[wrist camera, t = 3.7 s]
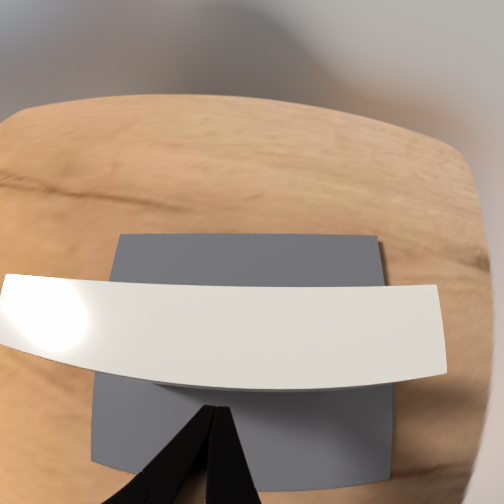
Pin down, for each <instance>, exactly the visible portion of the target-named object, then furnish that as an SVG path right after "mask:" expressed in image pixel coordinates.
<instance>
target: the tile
mask: <svg viewBox="0 0 504 504" xmlns="http://www.w3.org/2000/svg"><path fill="white" fill-rule="evenodd" d="M0 344H1V345H4V346H7V347H10V348H12V349H15V350H18V351H21V352H24V353H27V354H30V355H33V356H36V357H40V358H43V359H46V360H50V361H53V362H57V363H60V364H64V365H68V366H71V367H75V368H79V369H83V370H88V371H92V372H96V373H101V374H105V375H110V376H115V377H120V378H125V379H131V380H136V381H142V382H148V383H155V384H162V385H170V386H179V387H188V388H199V389H211V390H225V391H246V392H314V391H333V390H344V389H354V388H363V387H371V386H379V385H386V384H393V383H399V382H405V381H411V380H417V379H422V378H427V377H432V376H437V375H441V374H446V373H447V365H446V352H445V341H444V332H443V324H442V316H441V309H440V303H439V297H438V291H437V285H409V286H369V287H241V286H199V285H170V284H146V283H126V282H108V281H91V280H76V279H62V278H49V277H36V276H24V275H13V274H6V278H5V281H4V285H3V289H2V293H1V297H0Z"/></svg>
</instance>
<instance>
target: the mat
mask: <svg viewBox="0 0 504 504" xmlns="http://www.w3.org/2000/svg"><path fill="white" fill-rule="evenodd" d="M109 282H126V283H146V284H170V285H199V286H241V287H369V286H385V284H384V277H383V270H382V263H381V257H380V251H379V245H378V240H377V236H369V235H318V234H120V237H119V241H118V245H117V249H116V253H115V258H114V262H113V266H112V271H111V276H110V280H109ZM205 404H207V405H216V406H229V407H230V409H231V412H232V415H233V419H234V422H235V426H236V429H237V432H238V435H239V439H240V442H241V445H242V448H243V451H244V455H245V458H246V461H247V464H248V467H249V470H250V473H251V476H252V479H253V482H254V485H255V488H256V490H257V491H303V490H318V489H330V488H339V487H347V486H355V485H361V484H367V483H373V482H379V481H384V480H389V479H390V468H391V453H392V430H393V384H386V385H379V386H371V387H363V388H354V389H344V390H333V391H314V392H246V391H225V390H211V389H199V388H188V387H179V386H170V385H162V384H155V383H148V382H142V381H136V380H131V379H125V378H120V377H115V376H110V375H105V374H101V373H96V372H95V378H94V390H93V403H92V423H91V461H92V462H95V463H98V464H101V465H105V466H108V467H111V468H115V469H118V470H122V471H125V472H129V473H133V474H138V473H139V472H142V469H143V468H144V467H145V466H146V465H147V464H148V463H149V462H150V461H151V460H152V459H153V458H154V457H155V456H156V455H157V454H158V453H159V452H160V451H161V450H162V449H163V448H164V447H165V446H166V445H167V444H168V443H169V442H170V441H171V440H172V439H173V437H174V436H175V435H176V434H177V433H178V432H179V431H180V430H181V429H182V428H183V427H184V426H185V425H186V424H187V422H188V421H189V420H190V419H191V418H192V417H193V416H194V415H195V414H196V413H197V412H198V410H199V409H200V408H201V407H202V406H203V405H205Z"/></svg>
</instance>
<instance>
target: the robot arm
mask: <svg viewBox="0 0 504 504" xmlns="http://www.w3.org/2000/svg"><path fill="white" fill-rule="evenodd" d="M205 499H206V501H205ZM204 503H205V504H262V503H261V501H260V499H259V496H258V493H257V490H256V488H255V485H254V482H253V479H252V476H251V473H250V470H249V467H248V464H247V461H246V458H245V455H244V451H243V448H242V445H241V442H240V439H239V435H238V432H237V429H236V426H235V422H234V419H233V415H232V412H231V409H230V407H229V406H216V405H207V404H205V405H203V406H202V407H201V408H200V409H199V410H198V412H197V413H196V414H195V415H194V416H193V417H192V418H191V419H190V420H189V421H188V422H187V424H186V425H185V426H184V427H183V428H182V429H181V430H180V431H179V432H178V433H177V434H176V435H175V436H174V437H173V439H172V440H171V441H170V442H169V443H168V444H167V445H166V446H165V447H164V448H163V449H162V450H161V451H160V452H159V453H158V454H157V455H156V456H155V457H154V458H153V459H152V460H151V461H150V462H149V463H148V464H147V465H146V466H145V467H144V468H143V469H142V472H139V473H138V474H137V475H136V476H135V477H134V478H133V479H132V480H131V481H130V482H129V483H128V484H127V485H125V486H124V487H123V488H122V489H121V490H119V491H118V492H117V493H115V494H114V495H113V496H111V497H110V498H109V499H107V500H106V501H104V502H103V503H101V504H204Z"/></svg>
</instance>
